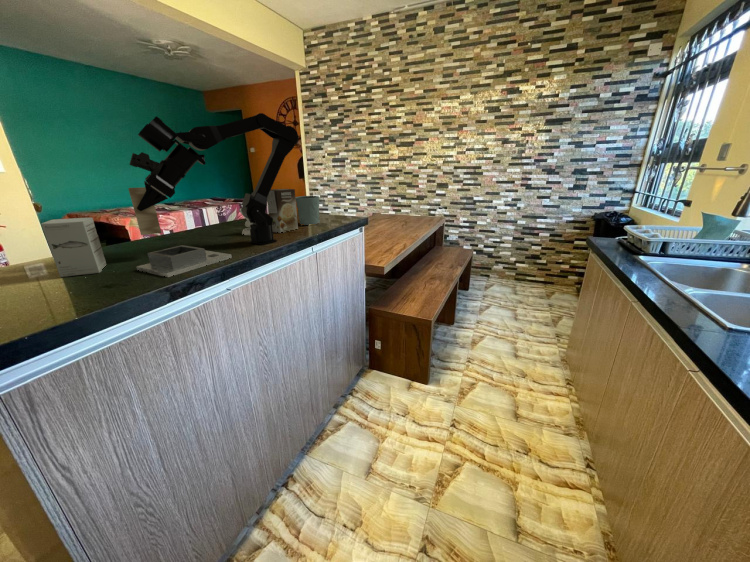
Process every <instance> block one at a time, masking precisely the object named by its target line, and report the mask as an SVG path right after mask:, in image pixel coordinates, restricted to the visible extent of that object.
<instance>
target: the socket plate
mask: <svg viewBox="0 0 750 562" xmlns="http://www.w3.org/2000/svg"><path fill="white" fill-rule="evenodd" d="M147 257H148V261H149V263H146V264H141V265H136V266H135V268H136V271H138V270H139V272H142V271H143V273H146V272H147V274H152V275H156V276H160V277H164V276H165V278H170V277H174V276H177V275H180V274H183V273H187V272H189V271H194V270H197V269H199V268H203V267H207V266H210V265H213V264H217V263H219V261H220V262H223V261H226V260H230V259H232V254H231V253H225V252H218V251H212V250H206V249H205V248H203V247H196V246H190V245H185V244H184V245H176V246H172V247H169V248H163V249H159V250H156V251H151V252H147ZM229 258H230V259H229ZM206 265H207V266H206ZM173 275H174V276H173Z"/></svg>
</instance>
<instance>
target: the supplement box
mask: <svg viewBox="0 0 750 562" xmlns="http://www.w3.org/2000/svg"><path fill="white" fill-rule="evenodd" d="M41 228H42V230H43V233H44V235H45V239H46V241H47V243H48V247H49V249H50V252H51V255H52V258H53V261H54V263H55V266H56V268H57V271H58V274H59V277H60V278H66V277H72V276H81V275H92V274H101V272H102V271H103V270H104V269H105V268H106V267H107V266H106V265H107V262H106V258H105V255H104V251H103V247H102V246H101V245H102V244H101V242H100V237H99V235H98V233H97V229H96V225H95V222H94V218H93V217H74V218H57V219H54V218H53V219H50V220H47V221H45V222H41ZM105 266H106V267H105ZM104 267H105V268H104ZM103 268H104V269H103ZM102 269H103V270H102Z"/></svg>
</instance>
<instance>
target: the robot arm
mask: <svg viewBox="0 0 750 562" xmlns="http://www.w3.org/2000/svg"><path fill="white" fill-rule="evenodd" d="M256 130H260V131H262V132H263V133H265V134H266V135H267V136H268V137H269V138H271V139H272V143H271V152H270V154H269V156H268V158H267V161H266V163H265V166H264V168H263V169H262V173H261V174H260V177H259V179H258V182H257V184H256V186H255V188H254V190H253V192H251V194H250V193H245V194H244V197H243V201H242V202H241V203H240V206H241V207H240V209H241V211H242V214H243V215H244V216H245V217H246V218H248V219H249V221H250V223H253V224H252V225H250V227H251V230H250V235H249V236H250V240H249V243H250V244H256V245H263V246H264V245H266V244H270V243H275V242H277V241H278V239H275V238H274V232H273V230H272V222H273V218H272V217H270V216H269V213H267V209H268V204H267V198H268V195H269V192H270V190H271V189H272V187H273V185H274V183H275V182H276V179H277V176H278V174H279V172H280V169H281V168H282V165H283V162H284V161H285V158H286V157H287V156H288V155H289V154H290V153H291V151H293V149H294V147H295V146H296V144H297V143H298V141H299V134H298V131H297V129H296V128H295V127H293V126H291V125H285V124H284V123H282V122H280V121H278V120H277V119H273V118H272V117H270V116H268V115H266V114H265V113H263V112H259V113H257V114H255V115H252V116H249V117H246V118H242V119H238V120H235V121H231V122H227V123H224V124H220V125H203V126H195V127H192V128H191V129H190V130H189V131H185V132H184V131H183V132H182V131H179V132H175V131H174V130H173V129H172V128H170V127H169V126H168V125H167V124H166V123H165V122H164V120H162V119H161V118H160V117H159V116H158V115H156V116H155V117H154V118H153V119H151V121H150V122H149V123H146V124H145V125H144V127H142V129H141V130H140V131H139V133H138V134H137V136H138V137H140V138H141V139H142V140H144V141H145V142H146V143H148V144H149V145H150V146H151V147H153V148H154V149H155V150H157V151H158V152H160V153H161V151H163V152H165V153H167V152H169V150H170V149H171V148H172V147H173V145H174V144H176V146H175V147H174V148H173V149H172V151H171V152H170V153H168V155H167V156H166V157H165V158H164V159H161V160H160V162H158V161H155V160H153V159H150V158H151V157H150V155H149V154H148V153H145V152H140V153H139V154H137V153H134V152H132V153H131V154H132V155H131V158H130V161H129V166H131V167H135V168H139V169H143V170H145V171H148V172H149V174H147V176H146V177H145V180H144V181H143V184H144V187H145V188H146V192H145V194H144V196H143V197H142V199H141V201H140V203H139V205H138V207H137V209H138V210H139V211H143V210H145V209H147V208H149V207H151V206H153V205H157V204H160V203H161V202H164V201H166V200H169V199H171V198H172V197H173V196H174V195H175V194H176V191H175V189H176V186H178V184H179V183H180V182H181V180H182V179H184V178H185V177H186V175H187V174H188V172H189V171H190V170H191V169H192V168H193V166H194V165H195V164H196V163H199V164H201V165H202V166H203V165H206V161H205V157H206V156H205V154H199V153H198V151H205V150H209V149H210V148H212V147H214V146H215V145H217V144H220V143H221V142H223V141H224V140H226V139H230V138H232V137H236V136H240V135H244V134H246V133H249V132H250V133H251V132H253V131H256ZM183 144H185V145H189V146H188V148H187V147H185V145H183ZM242 214H241V215H242ZM243 215H242V216H243ZM244 216H243V217H244ZM245 217H244V218H245ZM250 227H249V228H250Z"/></svg>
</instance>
